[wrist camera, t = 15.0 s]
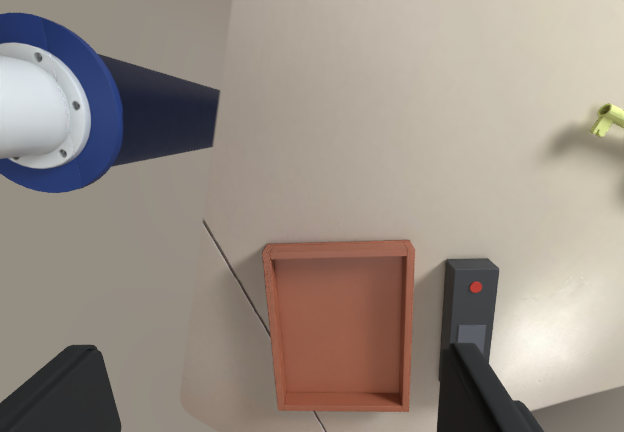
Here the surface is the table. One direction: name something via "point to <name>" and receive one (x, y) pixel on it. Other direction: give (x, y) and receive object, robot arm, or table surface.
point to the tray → (341, 324)
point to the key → (607, 119)
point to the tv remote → (469, 303)
